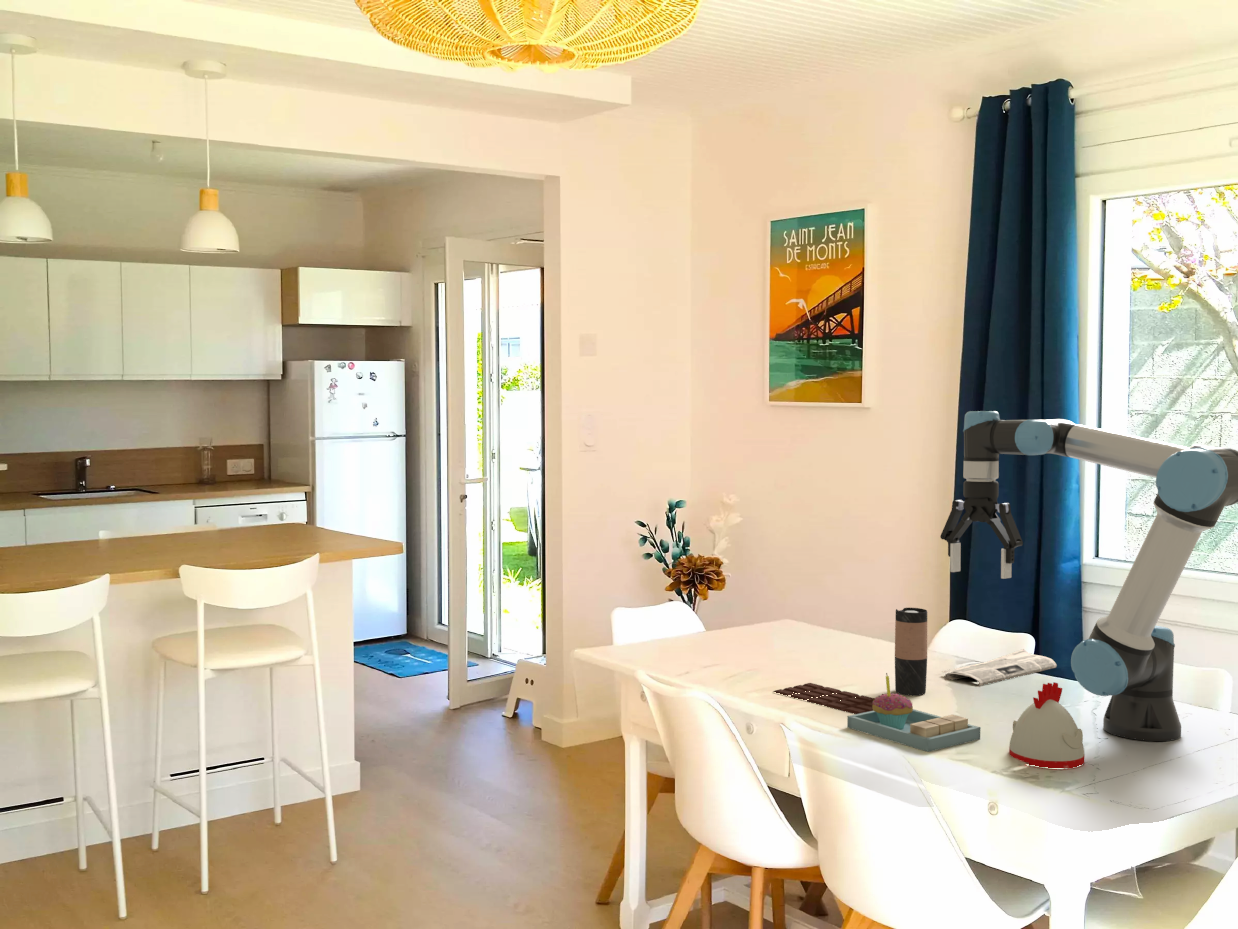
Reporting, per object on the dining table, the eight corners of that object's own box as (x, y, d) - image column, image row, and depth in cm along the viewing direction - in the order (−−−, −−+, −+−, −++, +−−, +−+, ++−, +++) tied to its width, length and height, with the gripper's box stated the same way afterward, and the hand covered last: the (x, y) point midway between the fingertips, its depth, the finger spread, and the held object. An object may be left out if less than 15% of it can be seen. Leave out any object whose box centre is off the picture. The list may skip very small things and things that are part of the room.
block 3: (967, 737, 246) (967, 718, 245) (954, 740, 243) (955, 721, 243) (952, 733, 249) (952, 714, 249) (939, 736, 247) (939, 717, 246)
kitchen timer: (1098, 761, 231) (1100, 685, 231) (1056, 774, 223) (1057, 695, 223) (1037, 745, 243) (1038, 672, 242) (994, 756, 235) (995, 681, 234)
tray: (980, 741, 245) (980, 727, 245) (928, 754, 236) (928, 739, 236) (898, 718, 263) (898, 705, 263) (847, 730, 254) (847, 716, 254)
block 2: (953, 741, 243) (953, 722, 243) (940, 744, 241) (940, 725, 240) (937, 736, 246) (938, 717, 246) (924, 740, 244) (925, 720, 244)
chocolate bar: (771, 694, 287) (772, 690, 287) (809, 686, 295) (809, 682, 295) (859, 717, 266) (859, 712, 266) (897, 707, 274) (897, 703, 274)
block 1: (938, 745, 240) (938, 725, 240) (925, 748, 238) (925, 728, 238) (923, 740, 244) (923, 721, 243) (910, 743, 241) (910, 724, 241)
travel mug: (927, 696, 283) (928, 613, 282) (894, 695, 284) (895, 612, 283) (926, 689, 290) (927, 608, 289) (893, 687, 292) (894, 607, 291)
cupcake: (896, 734, 248) (897, 677, 247) (863, 726, 254) (863, 671, 254) (920, 727, 254) (921, 671, 253) (887, 719, 260) (888, 665, 259)
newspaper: (979, 688, 293) (979, 674, 293) (937, 679, 303) (938, 665, 303) (1059, 668, 315) (1059, 655, 315) (1018, 660, 325) (1018, 648, 325)
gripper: (1040, 481, 257) (1039, 579, 258) (946, 477, 277) (945, 567, 278) (1019, 483, 253) (1018, 582, 253) (925, 478, 273) (924, 570, 274)
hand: (980, 575), depth 266 cm, fingers open, 13 cm apart
